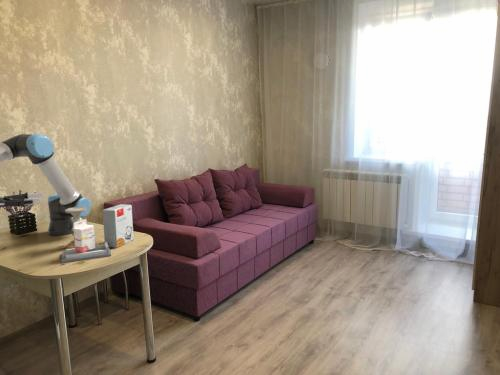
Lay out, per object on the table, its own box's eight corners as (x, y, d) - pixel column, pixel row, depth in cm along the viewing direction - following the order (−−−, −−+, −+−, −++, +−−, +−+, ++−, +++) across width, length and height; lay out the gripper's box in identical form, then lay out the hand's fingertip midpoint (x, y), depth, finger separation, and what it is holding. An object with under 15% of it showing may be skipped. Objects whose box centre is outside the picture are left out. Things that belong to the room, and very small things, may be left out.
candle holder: (85, 240, 220) (82, 205, 217) (96, 245, 212) (92, 208, 208) (62, 246, 212) (59, 209, 208) (72, 251, 203) (68, 212, 200)
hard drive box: (116, 248, 207) (113, 210, 203) (104, 247, 209) (101, 210, 206) (134, 239, 221) (131, 204, 218) (122, 238, 224) (119, 203, 220)
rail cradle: (62, 254, 200) (61, 245, 199) (108, 247, 208) (108, 239, 207) (61, 263, 187) (60, 254, 186) (111, 255, 196) (110, 247, 195)
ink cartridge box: (83, 253, 192) (80, 223, 190) (75, 252, 194) (72, 222, 191) (96, 247, 200) (93, 219, 197) (88, 246, 202) (85, 218, 199)
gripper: (-5, 205, 191) (44, 200, 200) (-16, 216, 169) (41, 211, 177) (-7, 189, 190) (43, 186, 198) (-18, 199, 167) (39, 194, 176)
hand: (42, 198), depth 188 cm, fingers open, 13 cm apart
